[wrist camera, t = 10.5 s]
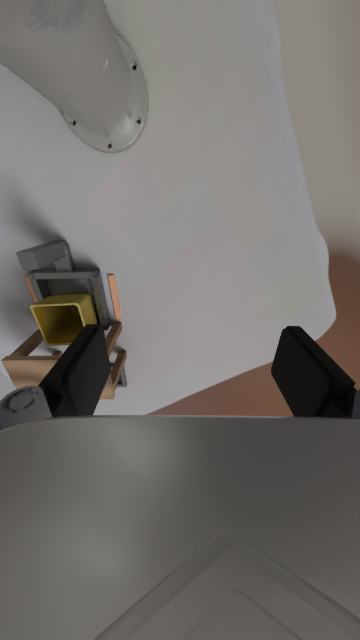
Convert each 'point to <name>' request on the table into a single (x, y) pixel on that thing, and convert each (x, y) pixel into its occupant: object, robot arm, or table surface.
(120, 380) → the frames
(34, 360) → the small wooden table
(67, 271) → the grey tray with upright
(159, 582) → the robot arm
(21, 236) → the table surface
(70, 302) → the flower pot
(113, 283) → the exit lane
